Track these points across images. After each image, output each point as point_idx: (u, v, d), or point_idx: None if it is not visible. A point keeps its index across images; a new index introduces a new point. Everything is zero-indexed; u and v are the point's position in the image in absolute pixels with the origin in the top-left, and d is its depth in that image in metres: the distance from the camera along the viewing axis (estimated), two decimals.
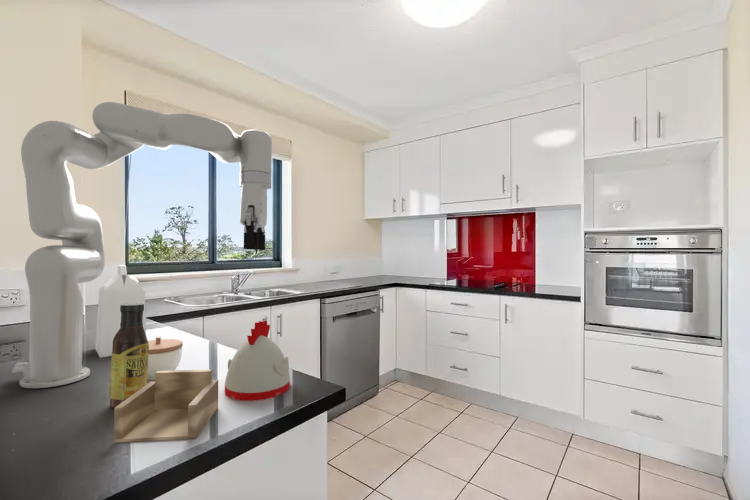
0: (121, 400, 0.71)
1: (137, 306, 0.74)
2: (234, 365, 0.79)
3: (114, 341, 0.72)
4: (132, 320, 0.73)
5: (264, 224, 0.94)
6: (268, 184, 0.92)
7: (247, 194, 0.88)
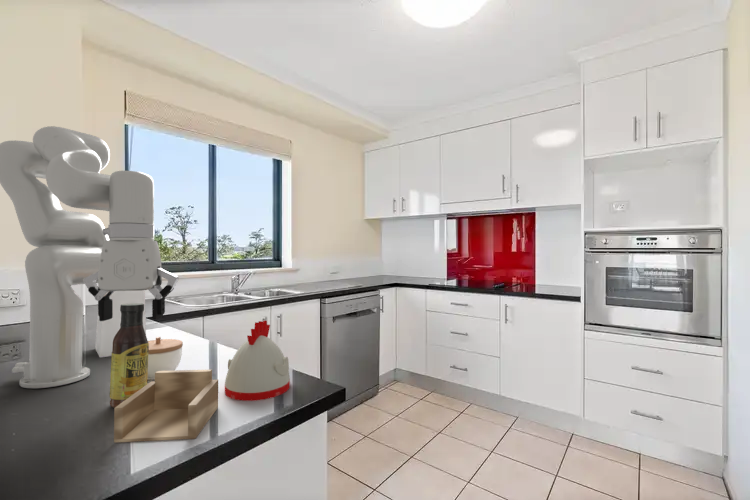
0: (121, 400, 0.71)
1: (137, 306, 0.74)
2: (234, 365, 0.79)
3: (114, 341, 0.72)
4: (132, 320, 0.73)
5: None
6: None
7: (155, 253, 0.74)
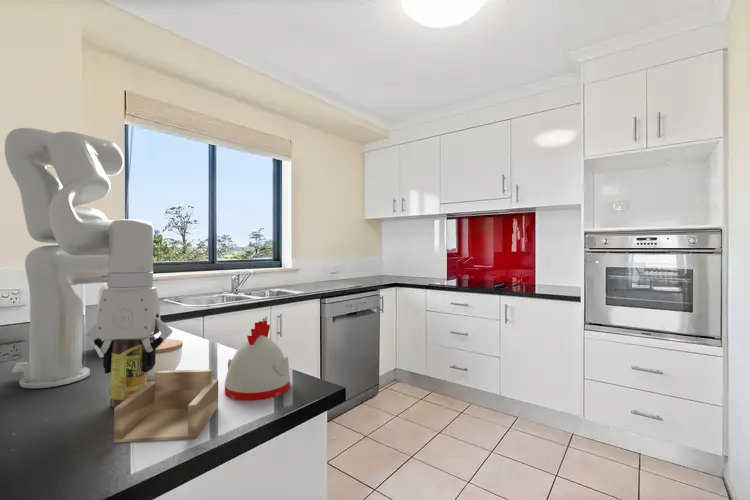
0: (121, 400, 0.71)
1: None
2: (234, 364, 0.79)
3: (114, 341, 0.72)
4: None
5: None
6: None
7: (154, 302, 0.74)
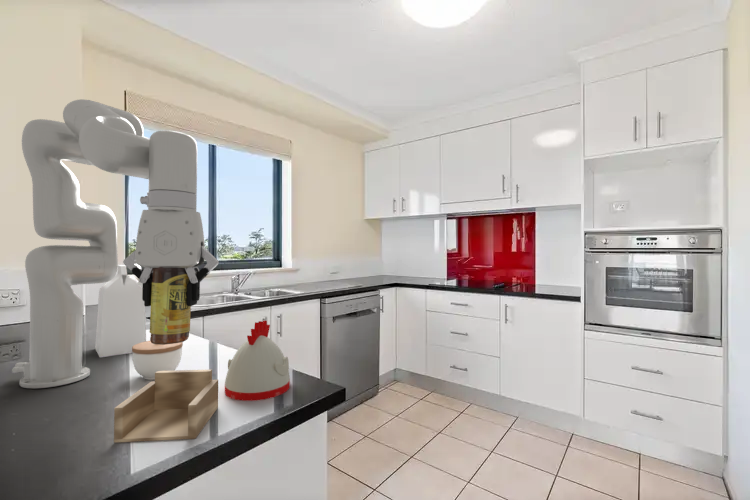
0: (164, 335, 0.62)
1: None
2: (234, 365, 0.79)
3: (155, 269, 0.63)
4: None
5: None
6: None
7: (199, 226, 0.65)
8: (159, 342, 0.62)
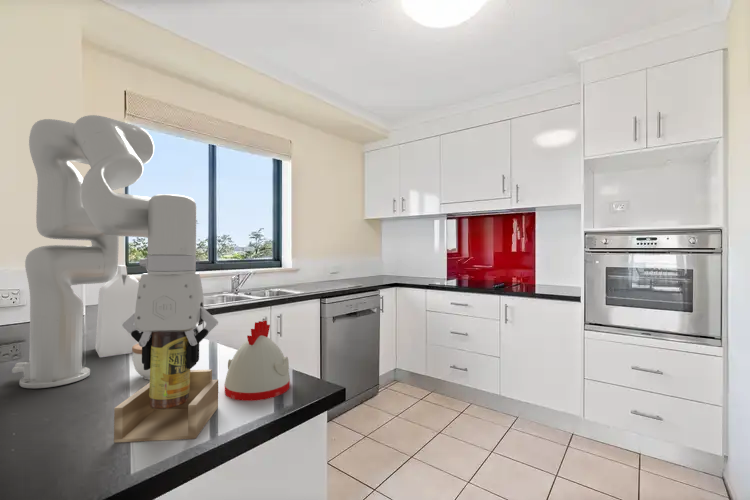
0: (163, 400, 0.62)
1: None
2: (234, 364, 0.79)
3: (154, 333, 0.63)
4: None
5: None
6: None
7: (198, 288, 0.65)
8: (159, 407, 0.62)
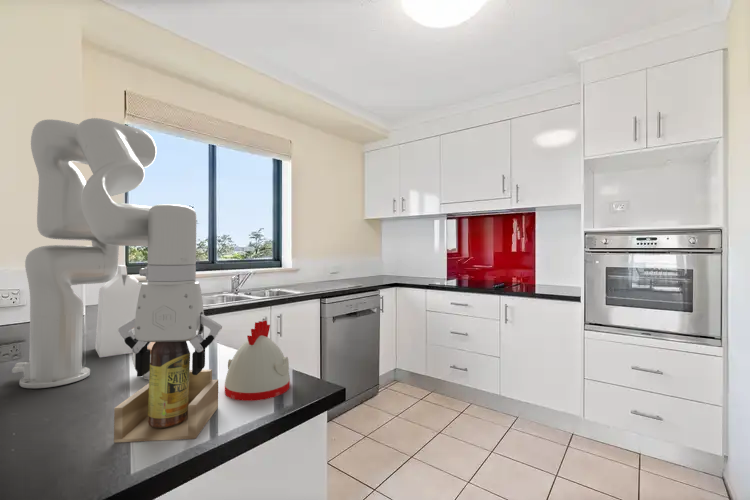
0: (162, 419, 0.62)
1: None
2: (234, 364, 0.79)
3: (153, 351, 0.63)
4: None
5: None
6: None
7: (198, 298, 0.65)
8: (157, 426, 0.62)
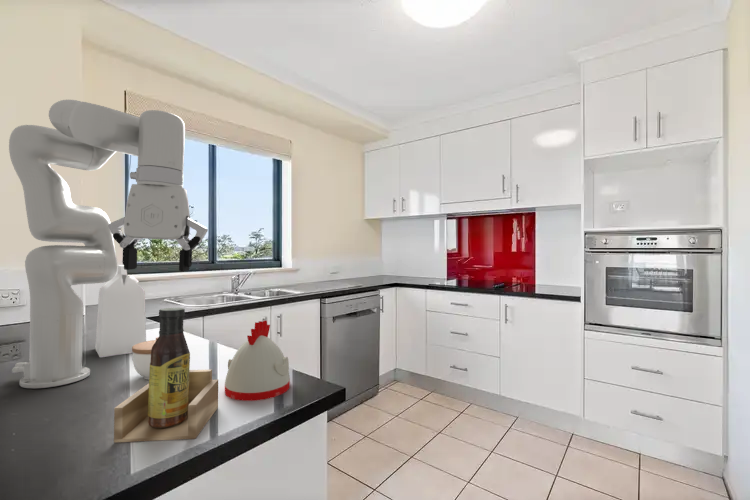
0: (162, 419, 0.62)
1: (178, 311, 0.65)
2: (234, 364, 0.79)
3: (153, 351, 0.63)
4: (173, 327, 0.65)
5: None
6: None
7: (184, 202, 0.70)
8: (157, 426, 0.62)
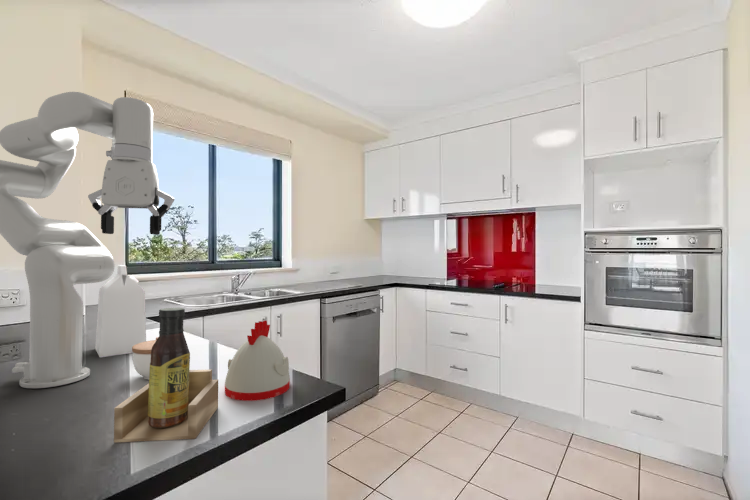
0: (162, 419, 0.62)
1: (178, 311, 0.65)
2: (234, 364, 0.79)
3: (153, 351, 0.63)
4: (173, 327, 0.65)
5: (130, 206, 0.84)
6: None
7: (153, 175, 0.82)
8: (157, 426, 0.62)
